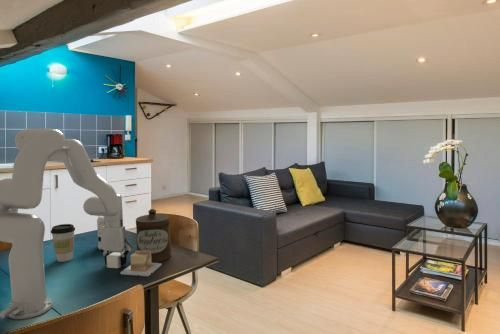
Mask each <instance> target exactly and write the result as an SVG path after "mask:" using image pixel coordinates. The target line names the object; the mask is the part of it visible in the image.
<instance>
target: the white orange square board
mask: <svg viewBox="0 0 500 334" xmlns="http://www.w3.org/2000/svg"><path fill="white" fill-rule="evenodd" d="M162 264H163V263H162V262H161V263H159V262H152V265H151V266H150V267H149V268H147V269H146V270H145V271H142V270H131V264H130V265H129V266H127V267H126V268H124V269H123V270H122V271H120V275H128V276H138V275H139V277H140V276H141V277H149V276H151V275H152V274H153V273H154V272H155V271H156V270H158V269H159V268H160V267H162V266H163V265H162ZM151 273H152V274H151Z"/></svg>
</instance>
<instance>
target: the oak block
mask: <svg viewBox="0 0 500 334" xmlns="http://www.w3.org/2000/svg"><path fill="white" fill-rule="evenodd" d="M129 255H130V265H131V270H142V271H145V270H146V269H147V268H149V267H150V266H151V265H152V263H153V262H151V251H139V250H138V251H137V250H136V251H135V252H133V253H132V254H129Z"/></svg>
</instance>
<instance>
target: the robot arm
mask: <svg viewBox="0 0 500 334" xmlns="http://www.w3.org/2000/svg"><path fill="white" fill-rule="evenodd" d="M14 144H15V147H16V148H17V150H18V151H19V152H18V153H17V155H16V156H15V159H14V163H13V167H12V168H13V169H12V176H11V178H2V179H0V242H2V243H9V244H12V246H11V248H10V252H9V255H8V269H9V280H10V291H11V301H10V302H8V303H9V306H8V307H7V308H6V309H4V310H2V311H0V318H1V319H5V318H7V317H8V318H10V319H13V320H26V319H30V318H31V319H32V318H34V317H39V316H40V315H43V314H45V313H47V312H48V311H49V310H50V309H51V308H52V307H53V301H52V299H50V298H48V297H47V288H46V275H45V274H46V273H45V261H44V260H45V259H44V240H45V239H44V238H45V233H46V231H45V230H46V227H45V223H44V221H43V219H42V218H40V217H39V216H38V215H35V214H31V213H26V212H25V213H24V212H23V213H22V212H19V210H31V209H36V208H37V207H38V206H39V205H40V203H41V202H42V198H43V190H44V189H43V188H44V187H43V186H44V175H45V174H44V173H45V167H46V165H47V163H48V161H49V162H57V163H63V164H64V166H65V168H66V170H67V172H68V174H69V175H70V178H71V179H72V182H73V183H74V184H75V185H76V186H79V187H80V188H82V189H85V190H87V191H89V192H91V193H92V194H94V195H95V196H91V197H88V198H87V199H85V201H84V203H83V206H82V208H83V211H84V212H85V213H86V215H87V214H88V215H89V216H95V217H98V216H104V220H102V223H104V226H103V227H102V232H101V243H100V244H99V245H98V244H97V248H98V249H99V251H100V252H101V254H102V256H103V257H104V263H105V264H104V265H105V266H107V256H108V255H109V254H111V253H110V252H119V253H120V254H121V256H122V257H121V258H120V259H121V267H124V266H125V265H127V263H128V262H127V261H128V260H127V255H128V254H129V253H130V252H131V251H132V249H133V246H132V245H131V243H129V241H128V236H127V230H126V227H125V225H124V218H123V217H124V216H123V197H122V195H121V194H120V193H117V192H116V191H115V189H114V187H113V186H112V185H111V184H110V183H109V182H108V181H107V180H106V179H104V177H102V176H101V175H99V174H98V173H97V172H96V170H95V168H94V166H93V163H92V162H91V160H90V157H89V155H88V152H87V151H86V149H85V146H84V144H83V143H82V142H81V141H79V140H77V139H75V138H73V139H72V138H65V135H64V133H63V132H62V131H61V130H59V129H55V128H24V129H22V130H20V131H18V132H17V134H16V135H15V137H14Z"/></svg>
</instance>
